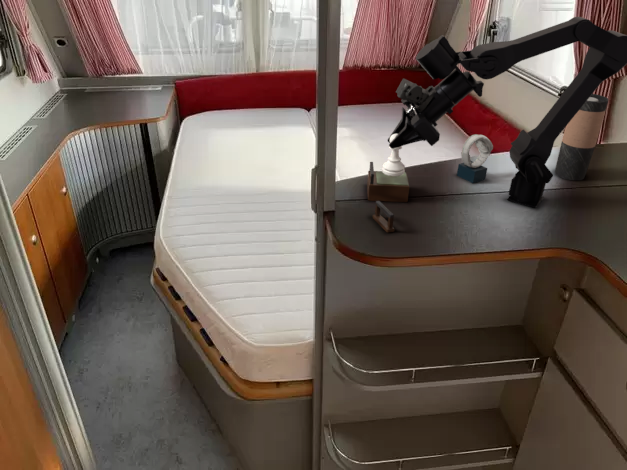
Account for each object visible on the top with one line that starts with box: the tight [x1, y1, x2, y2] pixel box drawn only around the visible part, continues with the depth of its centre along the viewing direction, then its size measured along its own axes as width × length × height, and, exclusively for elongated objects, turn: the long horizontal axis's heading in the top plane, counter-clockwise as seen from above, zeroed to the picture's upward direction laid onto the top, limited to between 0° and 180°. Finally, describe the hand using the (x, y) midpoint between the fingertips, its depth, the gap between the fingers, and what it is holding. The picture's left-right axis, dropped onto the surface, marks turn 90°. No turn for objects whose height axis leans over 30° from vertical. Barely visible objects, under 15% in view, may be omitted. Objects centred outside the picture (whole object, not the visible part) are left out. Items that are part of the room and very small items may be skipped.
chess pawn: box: [381, 134, 406, 176], centre depth 117 cm, size 5×5×9 cm
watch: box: [456, 133, 494, 184], centre depth 130 cm, size 6×8×11 cm
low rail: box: [372, 201, 395, 234], centre depth 110 cm, size 7×2×4 cm, turn 21°
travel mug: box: [554, 93, 609, 181], centre depth 131 cm, size 8×8×20 cm
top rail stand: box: [366, 161, 410, 203], centre depth 122 cm, size 9×8×6 cm
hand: (389, 144), depth 116 cm, fingers closed on chess pawn, 3 cm apart
